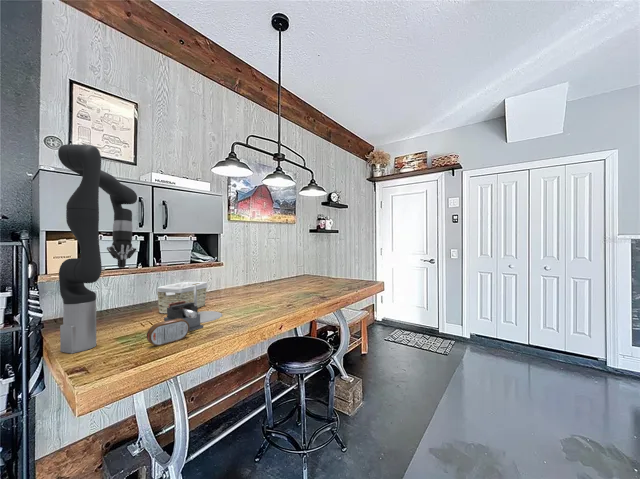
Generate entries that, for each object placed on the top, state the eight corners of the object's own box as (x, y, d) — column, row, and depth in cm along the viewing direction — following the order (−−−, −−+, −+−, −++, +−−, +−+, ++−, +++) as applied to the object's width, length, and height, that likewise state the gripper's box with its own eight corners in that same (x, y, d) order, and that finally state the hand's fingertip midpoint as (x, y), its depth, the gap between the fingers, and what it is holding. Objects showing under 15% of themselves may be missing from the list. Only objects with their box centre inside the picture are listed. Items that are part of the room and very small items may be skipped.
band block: (160, 331, 120) (160, 305, 121) (192, 323, 132) (192, 300, 132) (171, 336, 114) (171, 309, 114) (203, 327, 125) (203, 302, 125)
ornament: (195, 312, 152) (195, 282, 152) (221, 310, 157) (221, 280, 157) (193, 324, 132) (193, 288, 132) (223, 320, 136) (223, 286, 137)
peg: (168, 319, 124) (168, 303, 124) (184, 315, 129) (184, 300, 129) (185, 325, 114) (185, 308, 114) (201, 321, 120) (201, 305, 120)
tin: (187, 336, 114) (186, 315, 114) (190, 338, 112) (190, 317, 112) (146, 347, 103) (146, 324, 103) (149, 349, 101) (149, 326, 101)
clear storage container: (186, 304, 173) (185, 280, 173) (208, 305, 170) (208, 281, 170) (155, 314, 150) (155, 287, 150) (181, 315, 146) (180, 287, 146)
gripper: (114, 228, 123) (112, 267, 121) (141, 231, 136) (140, 267, 134) (102, 230, 125) (100, 268, 124) (130, 233, 138) (129, 268, 136)
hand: (121, 267), depth 129 cm, fingers closed
